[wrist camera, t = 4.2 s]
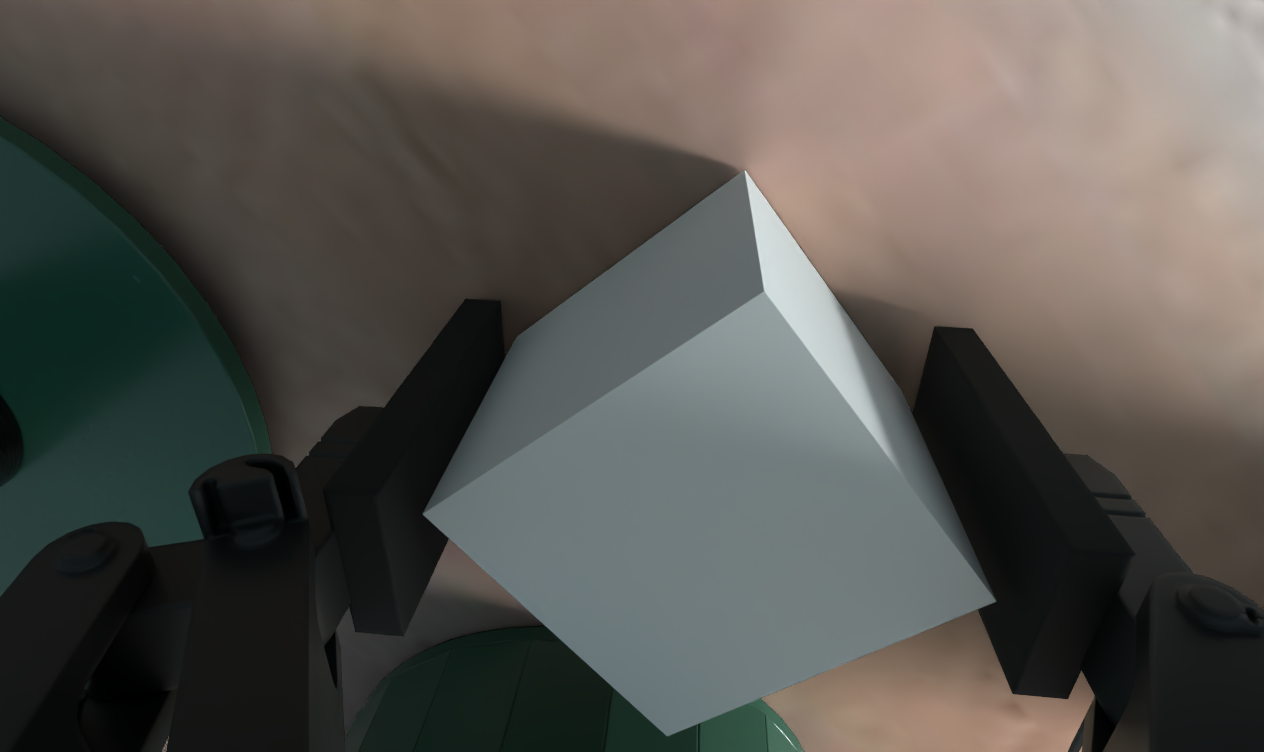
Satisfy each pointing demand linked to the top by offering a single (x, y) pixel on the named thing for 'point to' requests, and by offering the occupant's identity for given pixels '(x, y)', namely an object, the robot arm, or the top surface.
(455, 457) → the white cube
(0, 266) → the green disc with post
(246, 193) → the top surface
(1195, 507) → the top surface
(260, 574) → the robot arm
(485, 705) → the green tube
